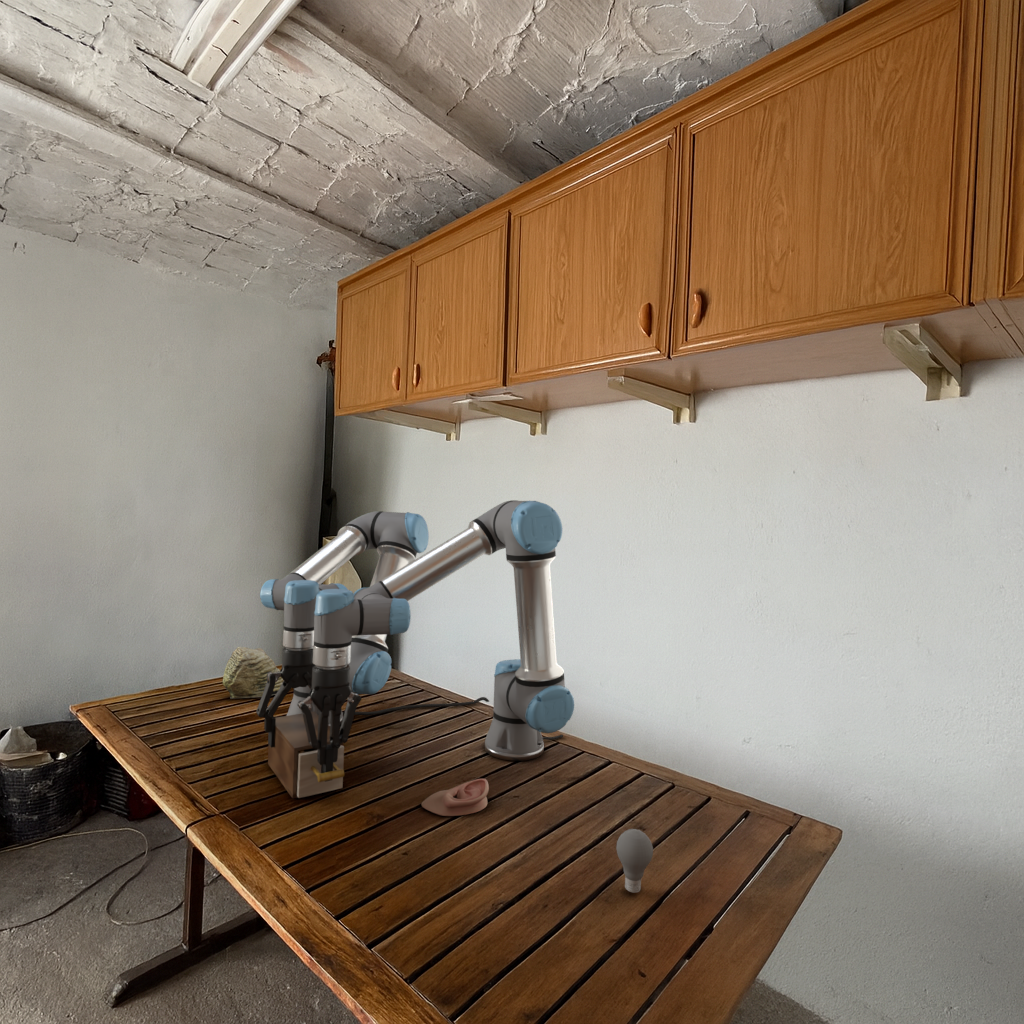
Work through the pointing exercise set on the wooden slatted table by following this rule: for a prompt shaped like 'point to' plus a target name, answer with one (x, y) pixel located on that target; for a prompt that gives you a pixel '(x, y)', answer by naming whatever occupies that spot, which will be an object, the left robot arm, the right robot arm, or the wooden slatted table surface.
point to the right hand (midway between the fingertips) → (326, 778)
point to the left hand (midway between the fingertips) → (296, 740)
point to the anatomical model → (459, 799)
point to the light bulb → (634, 857)
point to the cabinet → (290, 748)
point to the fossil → (249, 673)
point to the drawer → (317, 773)
